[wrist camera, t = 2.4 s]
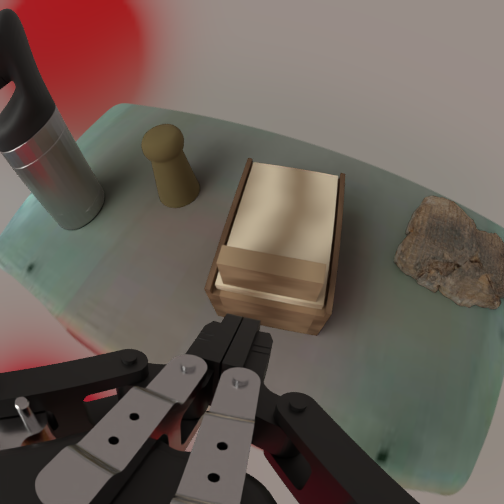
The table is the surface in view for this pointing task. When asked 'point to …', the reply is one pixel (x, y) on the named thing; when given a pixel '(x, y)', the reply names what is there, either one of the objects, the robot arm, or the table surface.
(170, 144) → the tan pawn
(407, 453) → the table surface
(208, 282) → the lid box
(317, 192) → the cover plate
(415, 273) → the clay tablet
